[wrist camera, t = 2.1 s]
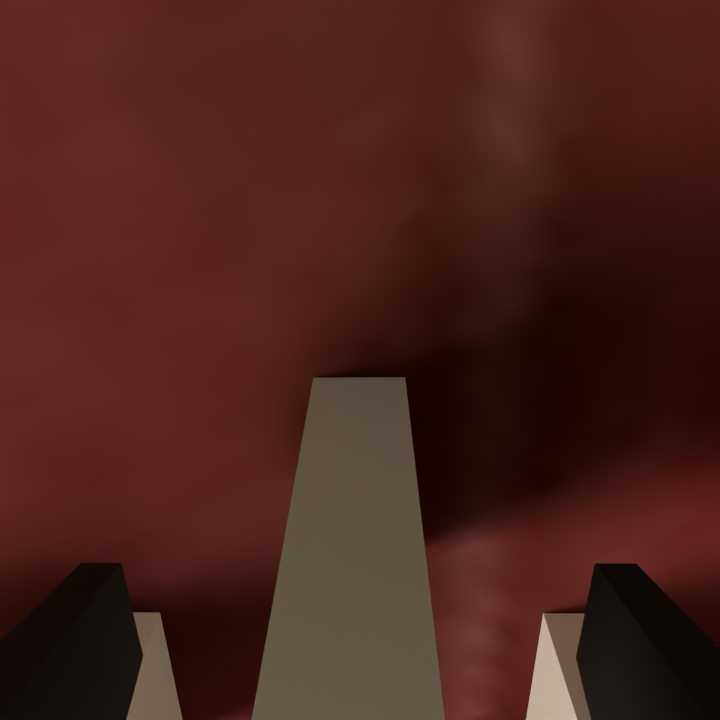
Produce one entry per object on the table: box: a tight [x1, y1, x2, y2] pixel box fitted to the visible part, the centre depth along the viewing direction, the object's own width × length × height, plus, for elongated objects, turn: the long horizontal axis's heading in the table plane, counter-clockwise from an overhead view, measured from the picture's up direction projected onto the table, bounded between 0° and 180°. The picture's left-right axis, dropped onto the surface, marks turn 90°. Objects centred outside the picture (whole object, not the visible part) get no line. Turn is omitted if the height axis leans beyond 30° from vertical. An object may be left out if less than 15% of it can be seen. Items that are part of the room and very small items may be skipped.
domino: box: [252, 377, 445, 720], centre depth 10 cm, size 2×4×7 cm, turn 0°
